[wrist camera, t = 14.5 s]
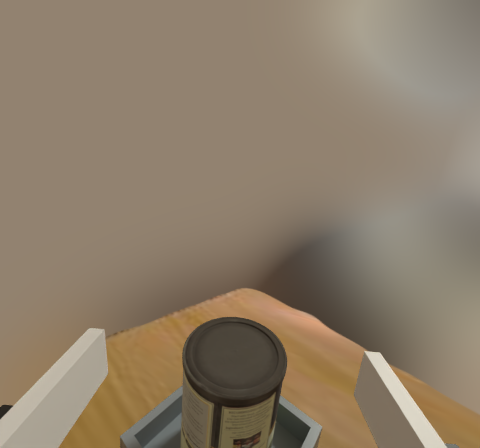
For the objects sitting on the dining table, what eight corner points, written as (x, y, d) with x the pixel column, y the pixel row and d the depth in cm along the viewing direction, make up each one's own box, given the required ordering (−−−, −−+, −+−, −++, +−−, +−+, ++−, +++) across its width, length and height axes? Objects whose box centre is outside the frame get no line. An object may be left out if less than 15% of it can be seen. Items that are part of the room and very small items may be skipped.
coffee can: (227, 391, 34) (236, 305, 30) (286, 456, 27) (307, 354, 23) (160, 446, 26) (162, 342, 23) (217, 554, 19) (232, 428, 16)
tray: (221, 371, 38) (223, 352, 37) (316, 450, 28) (322, 426, 27) (120, 462, 25) (120, 436, 24) (230, 656, 16) (235, 625, 15)
